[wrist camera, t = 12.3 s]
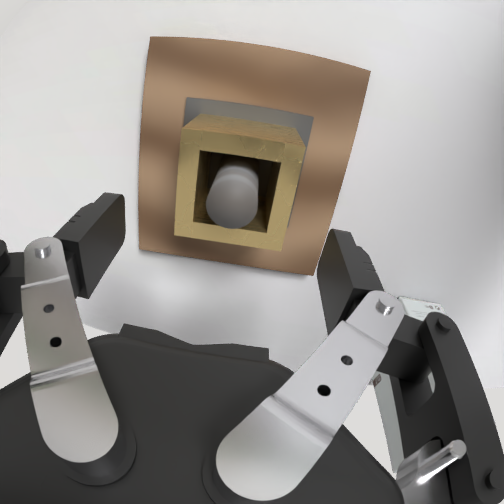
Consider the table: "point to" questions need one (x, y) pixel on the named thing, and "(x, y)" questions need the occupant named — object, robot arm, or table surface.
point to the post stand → (240, 167)
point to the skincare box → (384, 388)
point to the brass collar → (243, 144)
